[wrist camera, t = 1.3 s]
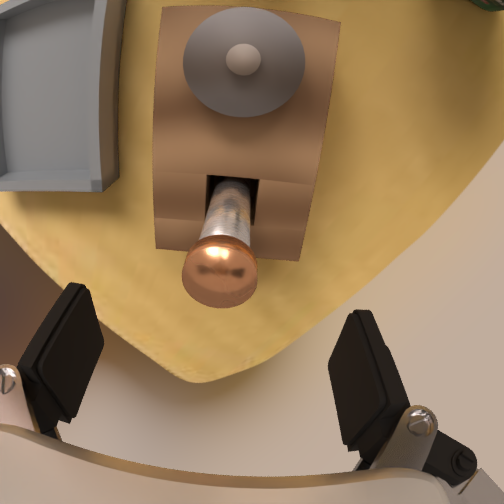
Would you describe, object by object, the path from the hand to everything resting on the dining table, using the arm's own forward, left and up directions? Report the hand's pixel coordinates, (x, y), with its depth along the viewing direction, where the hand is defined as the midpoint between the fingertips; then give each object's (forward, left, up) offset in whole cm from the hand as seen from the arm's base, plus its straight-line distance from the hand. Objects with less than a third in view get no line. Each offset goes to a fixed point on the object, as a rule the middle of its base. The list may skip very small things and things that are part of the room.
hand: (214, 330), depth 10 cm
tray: (-9, -17, -16) cm, 25 cm away
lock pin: (-1, 0, -15) cm, 15 cm away
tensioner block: (-5, 0, -16) cm, 17 cm away
